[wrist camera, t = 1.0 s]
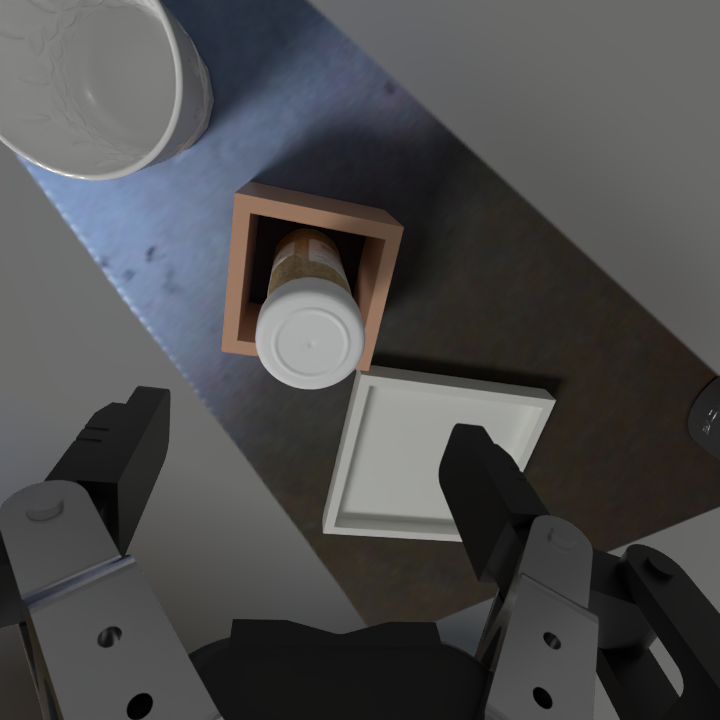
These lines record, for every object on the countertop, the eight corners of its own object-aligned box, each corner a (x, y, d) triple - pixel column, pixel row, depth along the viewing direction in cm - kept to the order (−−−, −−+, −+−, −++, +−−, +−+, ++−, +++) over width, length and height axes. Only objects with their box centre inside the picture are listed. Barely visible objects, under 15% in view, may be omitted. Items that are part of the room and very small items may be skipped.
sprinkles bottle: (262, 240, 29) (234, 313, 17) (328, 217, 29) (347, 274, 17) (288, 303, 31) (280, 406, 19) (350, 281, 31) (380, 373, 19)
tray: (544, 389, 37) (556, 400, 35) (482, 528, 43) (489, 543, 42) (358, 363, 34) (361, 374, 32) (322, 517, 40) (323, 533, 39)
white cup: (186, -23, 23) (110, -125, 14) (246, 143, 26) (218, 145, 17) (42, 26, 23) (-125, -45, 14) (121, 183, 26) (30, 206, 18)
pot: (383, 209, 29) (404, 227, 23) (356, 329, 32) (368, 371, 27) (249, 181, 27) (234, 192, 21) (236, 311, 31) (221, 351, 25)
